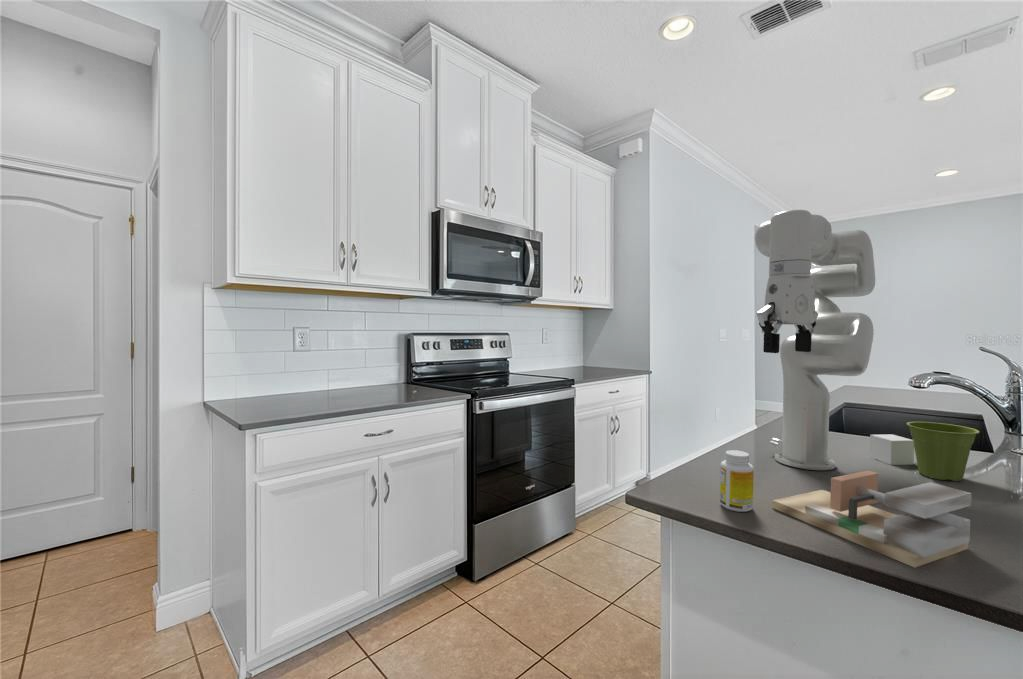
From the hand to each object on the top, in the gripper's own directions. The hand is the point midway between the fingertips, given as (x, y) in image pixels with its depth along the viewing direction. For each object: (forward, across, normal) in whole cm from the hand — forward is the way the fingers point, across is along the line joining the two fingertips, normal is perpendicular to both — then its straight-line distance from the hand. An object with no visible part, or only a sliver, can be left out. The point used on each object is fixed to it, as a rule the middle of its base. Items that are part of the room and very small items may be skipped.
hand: (787, 352), depth 95 cm
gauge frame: (+28, -7, -19) cm, 35 cm away
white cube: (+29, +40, +1) cm, 49 cm away
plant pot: (+28, +37, -10) cm, 48 cm away
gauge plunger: (+25, -7, -24) cm, 36 cm away
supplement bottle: (+28, -20, -5) cm, 35 cm away
